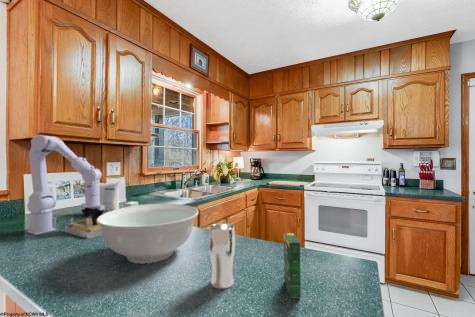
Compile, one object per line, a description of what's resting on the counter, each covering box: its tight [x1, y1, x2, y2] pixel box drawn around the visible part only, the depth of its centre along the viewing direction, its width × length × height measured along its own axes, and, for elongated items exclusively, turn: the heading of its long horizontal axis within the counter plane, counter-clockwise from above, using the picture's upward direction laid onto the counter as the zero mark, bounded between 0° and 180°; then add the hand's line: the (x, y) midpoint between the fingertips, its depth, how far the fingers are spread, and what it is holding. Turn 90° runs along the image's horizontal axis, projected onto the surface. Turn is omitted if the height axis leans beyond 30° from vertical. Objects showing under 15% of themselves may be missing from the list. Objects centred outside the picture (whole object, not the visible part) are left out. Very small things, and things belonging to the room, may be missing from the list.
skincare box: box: [122, 201, 139, 208], centre depth 116 cm, size 6×4×12 cm
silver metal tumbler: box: [208, 222, 236, 290], centre depth 63 cm, size 7×7×15 cm
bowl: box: [96, 203, 199, 265], centre depth 83 cm, size 32×32×15 cm
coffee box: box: [283, 232, 301, 299], centre depth 60 cm, size 8×3×13 cm, turn 178°
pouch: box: [100, 181, 121, 213], centre depth 142 cm, size 8×19×20 cm, turn 69°
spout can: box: [85, 216, 93, 226], centre depth 110 cm, size 4×4×7 cm
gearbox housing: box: [64, 219, 103, 239], centre depth 110 cm, size 18×15×4 cm
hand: (92, 224), depth 111 cm, fingers closed on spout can, 4 cm apart
